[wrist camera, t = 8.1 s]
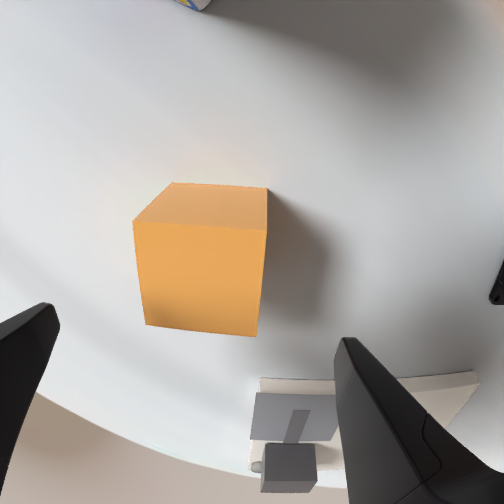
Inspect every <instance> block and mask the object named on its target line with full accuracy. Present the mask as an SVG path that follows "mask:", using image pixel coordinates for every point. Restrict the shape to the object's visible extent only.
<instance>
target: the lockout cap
mask: <svg viewBox="0 0 504 504" xmlns="http://www.w3.org/2000/svg"><path fill="white" fill-rule="evenodd" d="M133 233H134V243H135V252H136V261H137V269H138V277H139V284H140V292H141V298H142V305H143V311H144V317H145V323H146V325H151V326H158V327H165V328H173V329H181V330H189V331H198V332H207V333H217V334H227V335H238V336H250V337H256V336H257V327H258V317H259V307H260V297H261V287H262V277H263V267H264V257H265V247H266V236H267V188H257V187H243V186H229V185H212V184H193V183H171V184H170V185H169V186H168V187H167V188H166V189H165V190H164V191H162V192H161V193H160V194H159V195H158V196H157V197H156V198H155V199H154V200H153V201H152V202H151V203H150V204H149V205H148V206H147V207H146V208H145V209H144V210H143V211H142V212H141V213H140V214H139V215H138V216H137V217H136V218H135V219H134V220H133Z"/></svg>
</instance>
